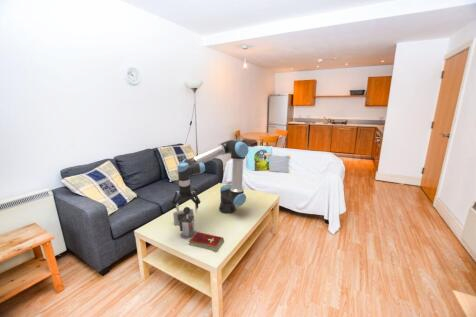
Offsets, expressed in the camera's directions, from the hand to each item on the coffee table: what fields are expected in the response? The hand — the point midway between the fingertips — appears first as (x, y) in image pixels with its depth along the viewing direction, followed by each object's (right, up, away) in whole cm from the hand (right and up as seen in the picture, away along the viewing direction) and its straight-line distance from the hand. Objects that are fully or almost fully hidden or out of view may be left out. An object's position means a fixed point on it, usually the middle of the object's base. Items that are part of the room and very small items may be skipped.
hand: (187, 212), depth 158 cm
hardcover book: (+15, -21, -5) cm, 26 cm away
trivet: (0, -18, +5) cm, 19 cm away
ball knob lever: (0, -15, +4) cm, 15 cm away
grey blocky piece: (0, -17, +4) cm, 18 cm away
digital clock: (-7, -14, +21) cm, 26 cm away
